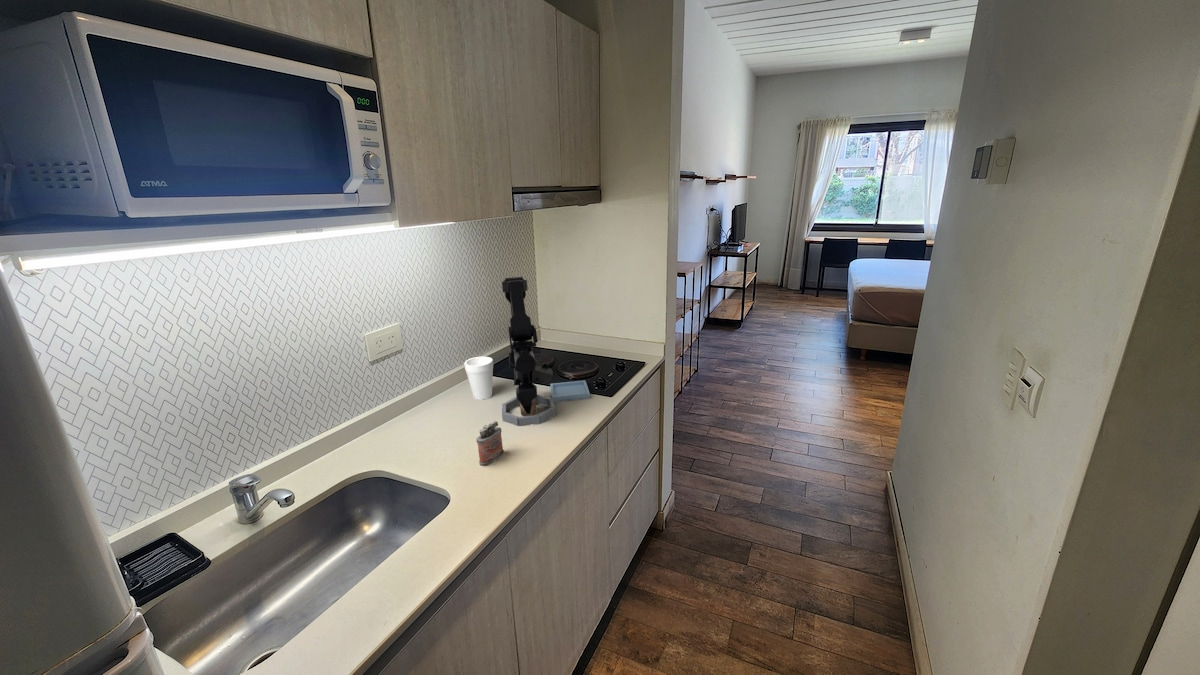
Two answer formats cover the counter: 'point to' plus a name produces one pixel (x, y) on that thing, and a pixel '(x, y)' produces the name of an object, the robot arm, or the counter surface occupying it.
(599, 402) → the counter surface
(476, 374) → the foam cup
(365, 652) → the counter surface
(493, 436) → the lighter
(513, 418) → the holder ring
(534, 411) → the walnut cylinder
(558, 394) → the tray
